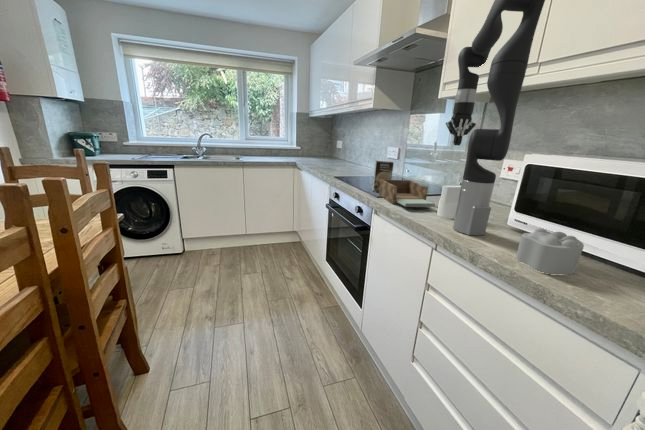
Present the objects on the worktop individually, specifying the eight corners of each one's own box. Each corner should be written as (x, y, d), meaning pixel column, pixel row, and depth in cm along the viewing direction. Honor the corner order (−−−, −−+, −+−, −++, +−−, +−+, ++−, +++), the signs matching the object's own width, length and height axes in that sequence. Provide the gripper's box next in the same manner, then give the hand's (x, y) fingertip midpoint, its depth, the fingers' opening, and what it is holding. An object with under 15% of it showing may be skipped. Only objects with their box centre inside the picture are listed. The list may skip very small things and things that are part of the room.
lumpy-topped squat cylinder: (509, 257, 75) (517, 227, 72) (548, 255, 77) (557, 226, 75) (545, 276, 65) (555, 243, 63) (588, 273, 68) (600, 241, 65)
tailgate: (423, 202, 125) (434, 207, 117) (396, 202, 123) (405, 206, 115) (424, 199, 125) (434, 203, 116) (397, 199, 123) (406, 203, 114)
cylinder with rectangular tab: (450, 212, 116) (455, 184, 113) (466, 218, 108) (472, 188, 105) (432, 212, 114) (437, 184, 110) (447, 219, 106) (452, 189, 102)
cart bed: (425, 204, 127) (427, 187, 124) (392, 204, 124) (394, 186, 122) (407, 195, 144) (409, 180, 141) (378, 195, 141) (380, 179, 139)
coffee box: (372, 191, 149) (375, 161, 144) (372, 189, 155) (374, 160, 150) (390, 192, 148) (393, 162, 143) (388, 190, 154) (392, 161, 149)
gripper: (473, 103, 118) (464, 145, 123) (444, 101, 116) (437, 144, 121) (485, 102, 111) (476, 146, 116) (455, 100, 109) (447, 145, 114)
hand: (456, 145), depth 118 cm, fingers closed
